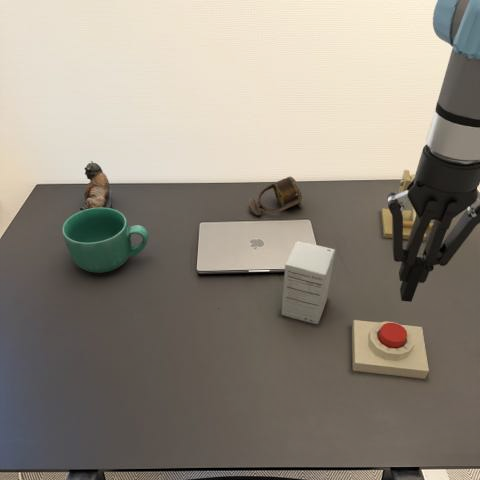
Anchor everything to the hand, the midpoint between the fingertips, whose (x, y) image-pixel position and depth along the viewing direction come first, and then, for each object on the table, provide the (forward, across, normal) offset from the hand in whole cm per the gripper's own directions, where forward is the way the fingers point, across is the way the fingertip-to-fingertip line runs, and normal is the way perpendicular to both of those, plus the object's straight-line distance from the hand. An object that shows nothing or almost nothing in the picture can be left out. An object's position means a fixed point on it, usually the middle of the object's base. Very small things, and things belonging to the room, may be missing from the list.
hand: (405, 295), depth 72 cm
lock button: (+10, 0, 0) cm, 10 cm away
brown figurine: (+14, +66, -35) cm, 76 cm away
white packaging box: (+14, +15, -9) cm, 22 cm away
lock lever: (+5, -6, -35) cm, 36 cm away
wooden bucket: (+14, +24, -43) cm, 51 cm away
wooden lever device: (+14, -6, -39) cm, 42 cm away
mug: (+14, +56, -17) cm, 60 cm away
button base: (+14, 0, 0) cm, 14 cm away
